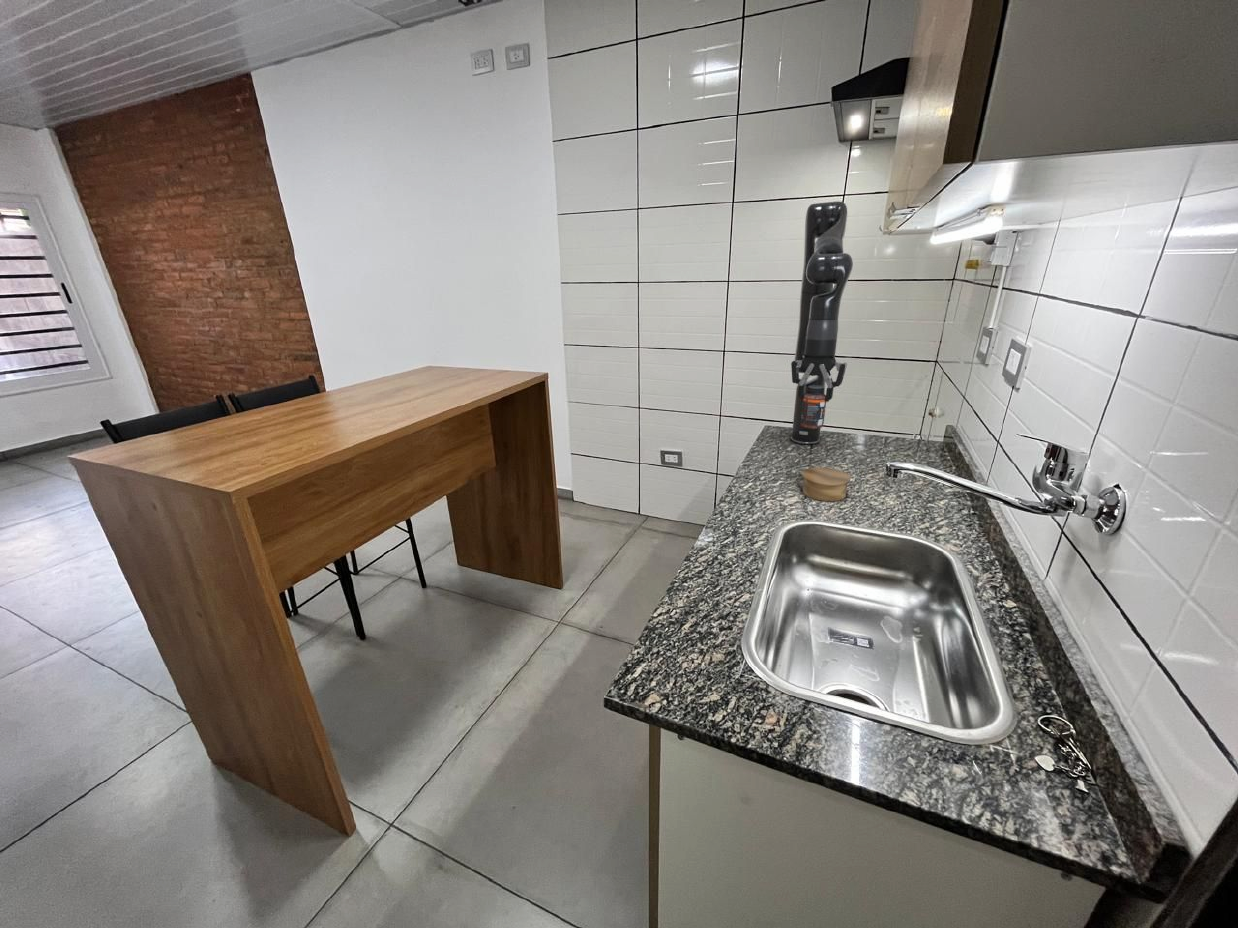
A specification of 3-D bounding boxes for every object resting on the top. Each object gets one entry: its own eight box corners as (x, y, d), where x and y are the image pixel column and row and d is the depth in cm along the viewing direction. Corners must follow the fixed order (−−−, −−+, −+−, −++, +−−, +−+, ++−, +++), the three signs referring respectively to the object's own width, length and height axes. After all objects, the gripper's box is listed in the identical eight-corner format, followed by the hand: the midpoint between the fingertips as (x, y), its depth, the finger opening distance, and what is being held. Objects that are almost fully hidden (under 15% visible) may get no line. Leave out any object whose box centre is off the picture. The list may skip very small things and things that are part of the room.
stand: (806, 480, 140) (808, 464, 138) (851, 488, 133) (854, 472, 132) (795, 496, 130) (797, 479, 129) (843, 505, 124) (845, 487, 122)
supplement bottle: (826, 429, 132) (831, 388, 128) (804, 430, 132) (808, 389, 128) (818, 423, 137) (823, 383, 133) (797, 423, 138) (801, 384, 133)
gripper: (854, 336, 125) (845, 399, 131) (797, 334, 133) (791, 394, 139) (848, 339, 119) (840, 405, 125) (789, 337, 127) (784, 400, 133)
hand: (814, 399), depth 132 cm, fingers closed on supplement bottle, 6 cm apart
